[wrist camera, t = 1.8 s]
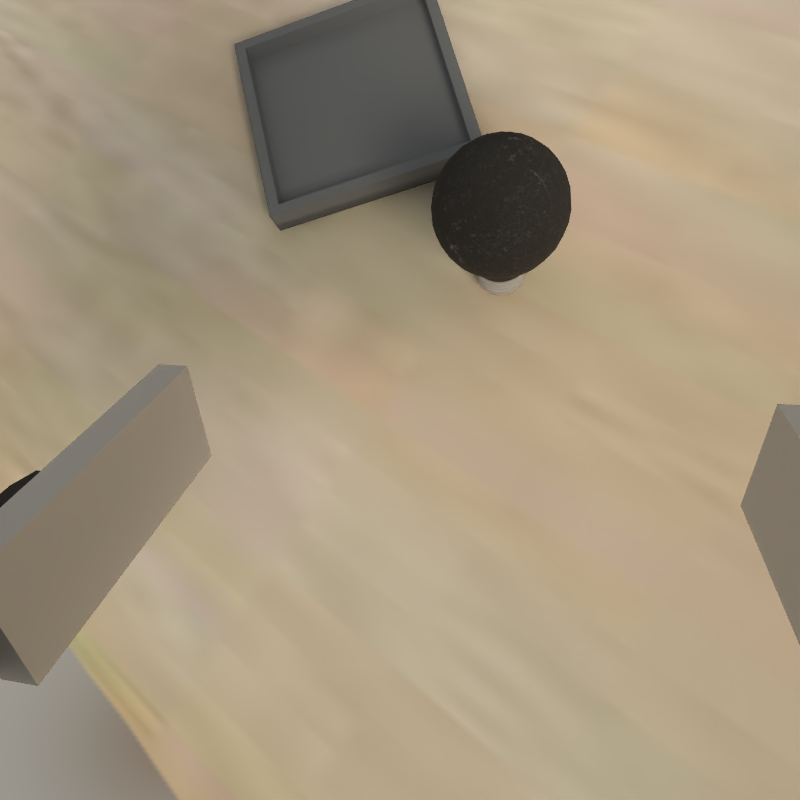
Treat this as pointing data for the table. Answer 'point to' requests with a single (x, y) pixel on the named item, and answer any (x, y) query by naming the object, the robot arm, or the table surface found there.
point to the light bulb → (501, 208)
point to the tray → (353, 105)
